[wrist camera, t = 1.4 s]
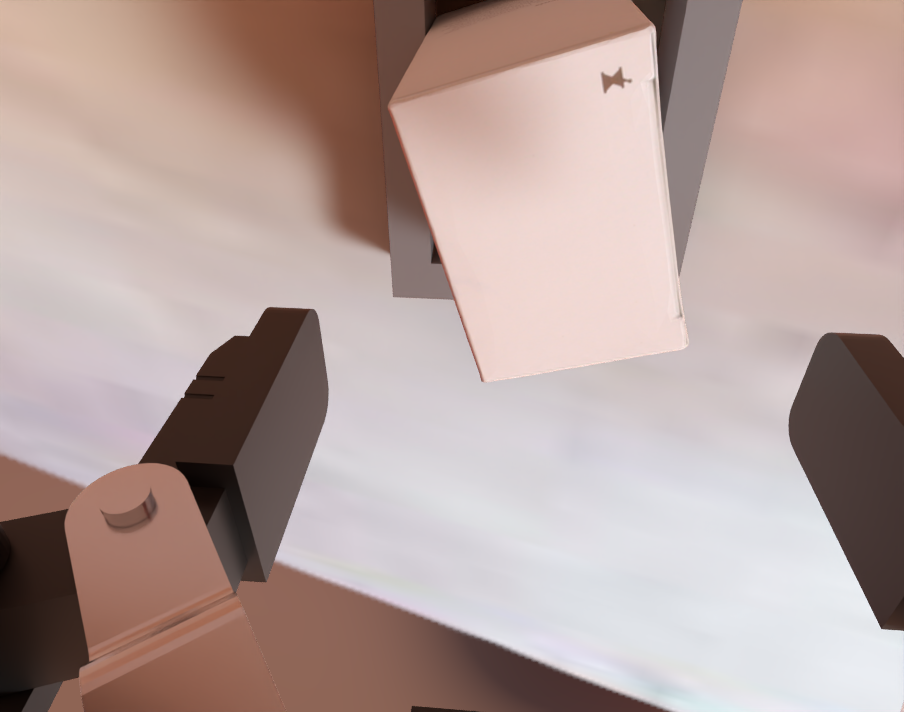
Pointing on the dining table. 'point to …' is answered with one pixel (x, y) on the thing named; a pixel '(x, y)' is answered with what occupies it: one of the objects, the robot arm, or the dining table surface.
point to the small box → (545, 181)
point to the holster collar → (681, 103)
